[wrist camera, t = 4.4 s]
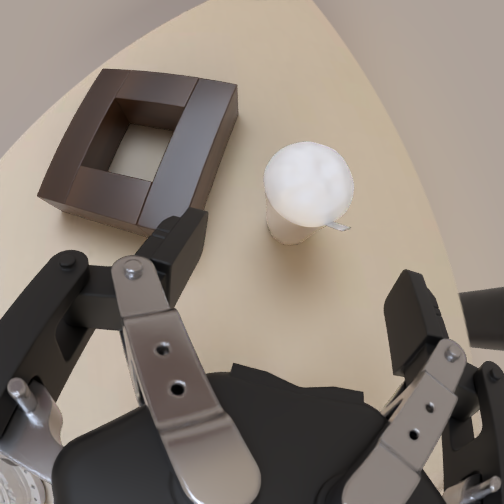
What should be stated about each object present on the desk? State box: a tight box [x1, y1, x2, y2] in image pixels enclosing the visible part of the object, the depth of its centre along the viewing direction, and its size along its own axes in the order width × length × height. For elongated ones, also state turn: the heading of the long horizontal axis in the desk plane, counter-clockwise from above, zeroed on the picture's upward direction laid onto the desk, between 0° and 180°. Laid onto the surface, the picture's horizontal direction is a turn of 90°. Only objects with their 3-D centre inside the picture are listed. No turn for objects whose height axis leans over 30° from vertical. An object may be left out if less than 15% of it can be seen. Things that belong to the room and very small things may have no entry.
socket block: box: [37, 69, 238, 237], centre depth 22 cm, size 12×12×4 cm
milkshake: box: [264, 141, 354, 245], centre depth 18 cm, size 5×5×10 cm
